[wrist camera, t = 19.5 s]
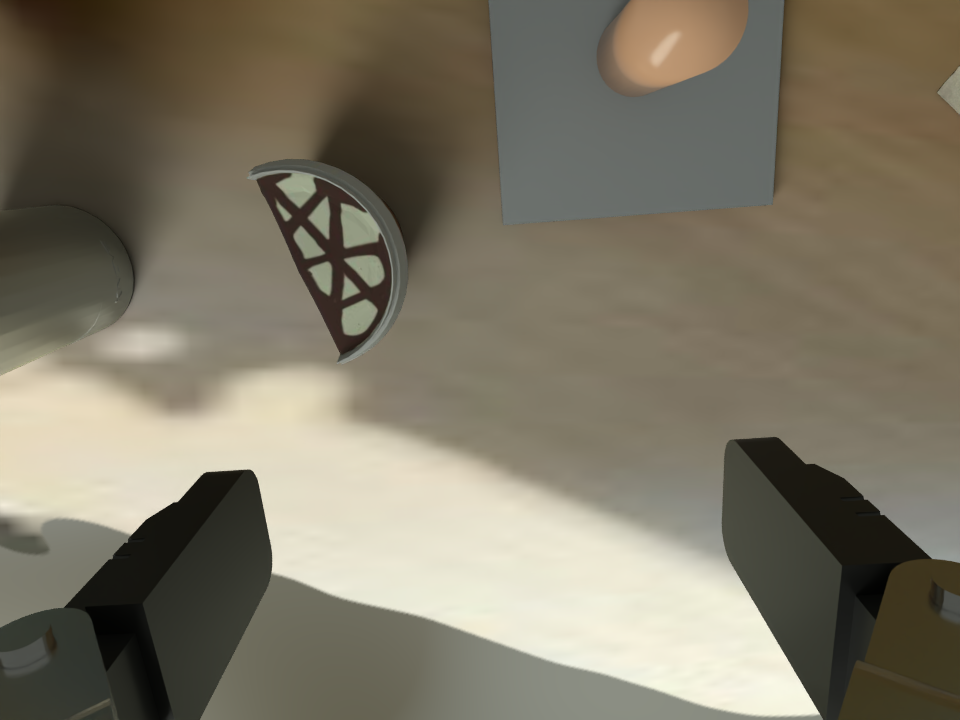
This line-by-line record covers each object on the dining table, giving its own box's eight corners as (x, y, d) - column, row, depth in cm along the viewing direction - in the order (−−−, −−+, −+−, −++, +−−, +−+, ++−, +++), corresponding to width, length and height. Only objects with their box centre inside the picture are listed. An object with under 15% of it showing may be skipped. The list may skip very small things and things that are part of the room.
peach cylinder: (597, 99, 42) (636, 79, 30) (595, 13, 40) (636, -43, 29) (676, 94, 42) (745, 71, 30) (677, 6, 40) (751, -53, 29)
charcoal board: (502, 223, 45) (503, 225, 44) (480, -115, 39) (480, -121, 38) (766, 203, 45) (772, 204, 44) (785, -144, 39) (792, -151, 38)
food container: (448, 298, 47) (438, 334, 37) (370, 328, 48) (341, 372, 38) (377, 128, 44) (346, 122, 34) (295, 164, 44) (241, 167, 35)
